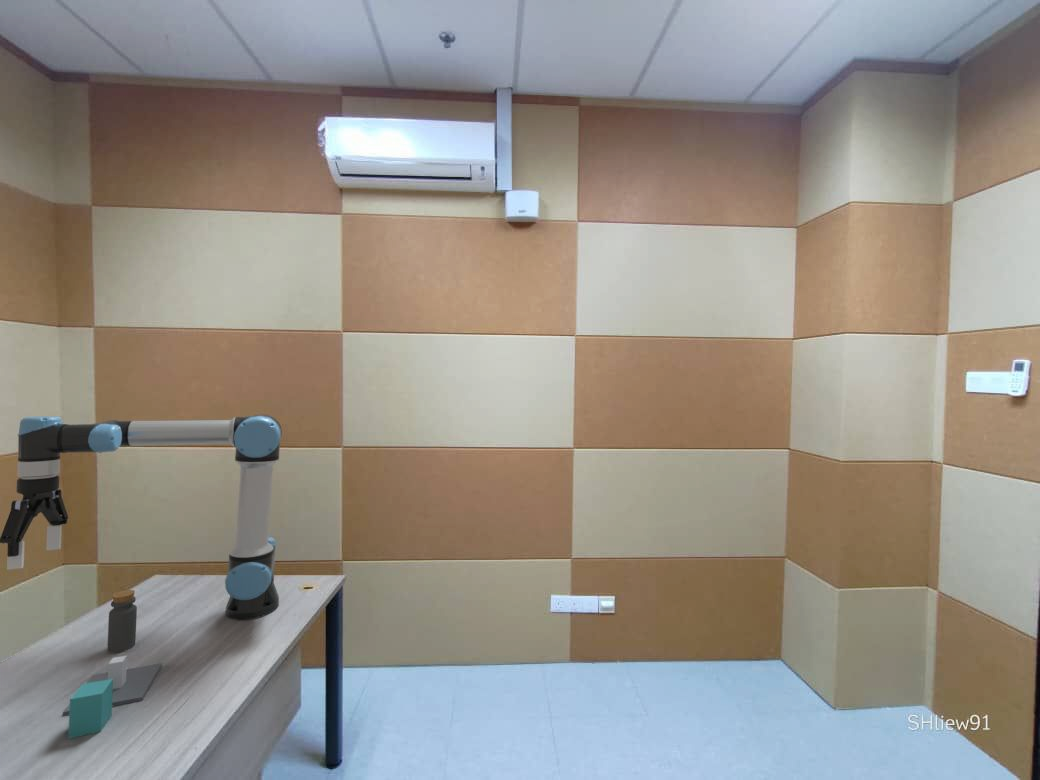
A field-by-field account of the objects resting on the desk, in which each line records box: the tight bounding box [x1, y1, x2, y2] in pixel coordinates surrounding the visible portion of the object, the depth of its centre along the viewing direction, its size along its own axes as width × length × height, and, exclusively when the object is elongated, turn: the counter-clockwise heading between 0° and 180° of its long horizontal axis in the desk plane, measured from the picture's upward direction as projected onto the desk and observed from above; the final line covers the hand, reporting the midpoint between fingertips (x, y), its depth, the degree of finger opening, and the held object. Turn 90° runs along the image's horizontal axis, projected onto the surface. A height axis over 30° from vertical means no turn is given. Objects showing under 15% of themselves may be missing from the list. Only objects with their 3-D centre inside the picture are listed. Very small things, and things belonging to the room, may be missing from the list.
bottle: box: [107, 589, 138, 654], centre depth 125 cm, size 6×6×15 cm
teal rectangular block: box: [67, 679, 113, 739], centre depth 96 cm, size 5×5×8 cm
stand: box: [62, 655, 164, 717], centre depth 108 cm, size 14×14×7 cm
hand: (35, 558), depth 116 cm, fingers open, 13 cm apart
